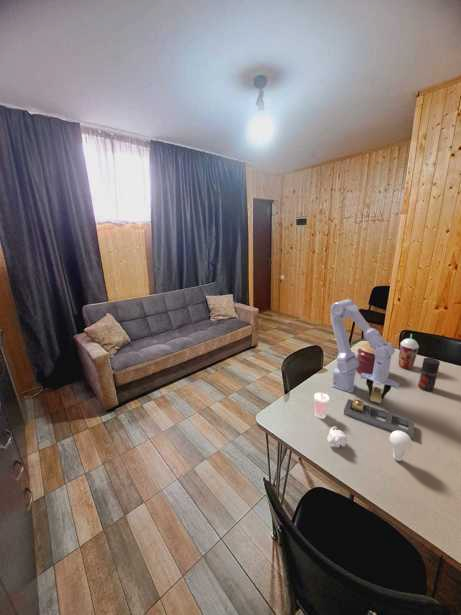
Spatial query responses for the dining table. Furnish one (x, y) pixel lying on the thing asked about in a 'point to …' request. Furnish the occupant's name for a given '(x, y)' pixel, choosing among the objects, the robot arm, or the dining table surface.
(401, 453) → the lightbulb
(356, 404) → the gold knobbed block
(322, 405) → the beverage cup
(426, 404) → the dining table surface
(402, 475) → the dining table surface
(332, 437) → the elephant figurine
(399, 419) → the rack rail
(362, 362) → the canister
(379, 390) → the knobbed gold cube
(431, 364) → the deodorant
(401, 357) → the smoothie
